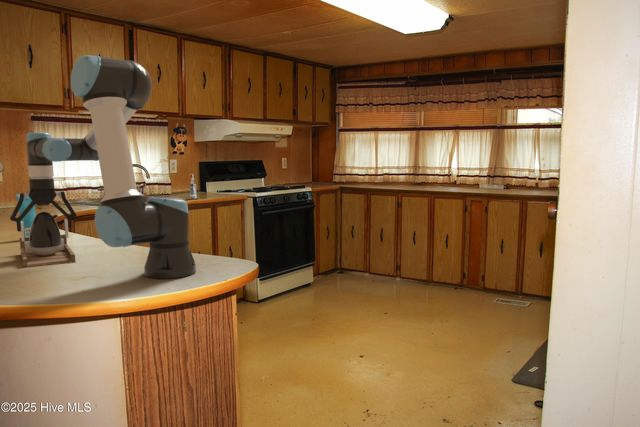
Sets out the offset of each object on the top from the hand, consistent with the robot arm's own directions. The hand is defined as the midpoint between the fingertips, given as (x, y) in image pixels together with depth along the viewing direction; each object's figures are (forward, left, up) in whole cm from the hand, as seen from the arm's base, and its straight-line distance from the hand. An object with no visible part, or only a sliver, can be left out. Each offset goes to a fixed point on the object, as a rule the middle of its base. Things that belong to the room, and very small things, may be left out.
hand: (45, 239), depth 183 cm
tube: (+42, -9, -7) cm, 44 cm away
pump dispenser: (0, 0, -6) cm, 6 cm away
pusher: (+9, -3, -5) cm, 11 cm away
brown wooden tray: (-2, +1, -6) cm, 7 cm away
